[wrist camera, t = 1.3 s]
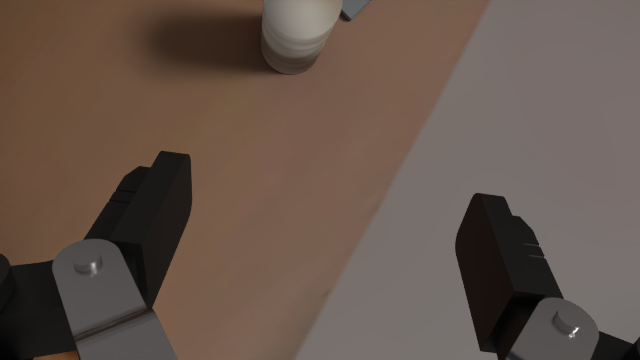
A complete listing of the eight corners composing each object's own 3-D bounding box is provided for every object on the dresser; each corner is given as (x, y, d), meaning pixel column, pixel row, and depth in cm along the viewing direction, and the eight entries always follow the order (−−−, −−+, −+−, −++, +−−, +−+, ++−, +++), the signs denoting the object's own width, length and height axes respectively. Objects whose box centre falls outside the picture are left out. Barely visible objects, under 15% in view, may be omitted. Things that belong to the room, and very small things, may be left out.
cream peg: (290, 86, 39) (304, 53, 29) (248, 43, 38) (247, -6, 28) (331, 46, 39) (358, -1, 29) (289, 3, 39) (303, -59, 29)
